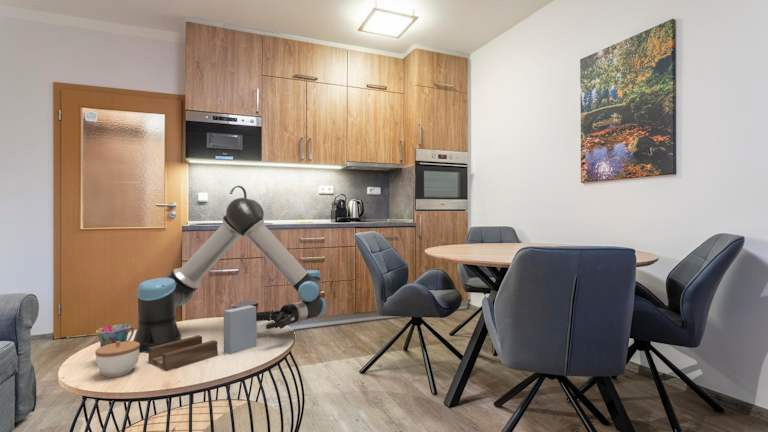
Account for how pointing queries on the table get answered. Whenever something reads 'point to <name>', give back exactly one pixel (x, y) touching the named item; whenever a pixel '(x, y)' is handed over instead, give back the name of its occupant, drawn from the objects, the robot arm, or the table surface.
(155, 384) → the table surface
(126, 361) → the lidded jar
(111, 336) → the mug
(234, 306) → the plastic cup
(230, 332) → the slate tile
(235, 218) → the robot arm
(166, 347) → the walnut rack
